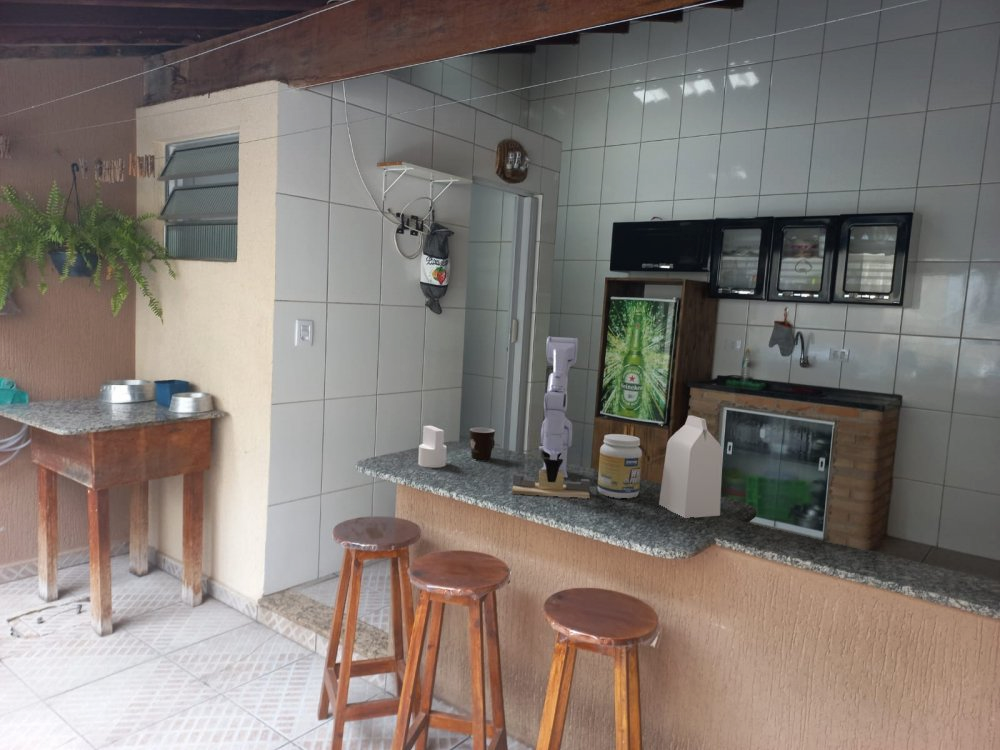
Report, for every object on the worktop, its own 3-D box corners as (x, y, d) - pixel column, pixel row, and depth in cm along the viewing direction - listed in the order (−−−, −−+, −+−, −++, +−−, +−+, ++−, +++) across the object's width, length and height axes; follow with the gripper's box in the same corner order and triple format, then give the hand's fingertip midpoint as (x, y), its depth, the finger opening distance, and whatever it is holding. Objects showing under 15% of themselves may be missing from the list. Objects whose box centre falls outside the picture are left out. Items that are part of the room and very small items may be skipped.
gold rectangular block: (538, 485, 205) (539, 469, 204) (562, 486, 205) (563, 470, 204) (538, 489, 201) (539, 472, 200) (562, 490, 201) (563, 473, 200)
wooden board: (513, 484, 208) (513, 481, 208) (586, 488, 208) (586, 485, 207) (512, 494, 198) (512, 490, 198) (589, 498, 198) (589, 495, 198)
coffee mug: (467, 455, 243) (469, 427, 242) (492, 455, 244) (493, 427, 243) (469, 463, 231) (471, 434, 230) (495, 464, 232) (497, 434, 231)
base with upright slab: (450, 465, 227) (452, 429, 225) (426, 468, 222) (428, 431, 220) (437, 459, 234) (438, 424, 233) (413, 462, 229) (414, 426, 228)
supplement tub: (629, 502, 196) (633, 443, 194) (590, 494, 202) (594, 437, 200) (645, 493, 206) (649, 437, 204) (607, 485, 213) (610, 431, 211)
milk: (658, 504, 195) (666, 413, 192) (693, 502, 199) (700, 413, 196) (684, 518, 184) (692, 422, 181) (719, 515, 188) (728, 421, 185)
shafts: (512, 482, 206) (513, 473, 206) (587, 487, 206) (588, 477, 205) (512, 487, 202) (513, 476, 202) (589, 491, 201) (589, 481, 201)
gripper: (539, 427, 208) (536, 471, 210) (540, 436, 194) (537, 484, 195) (563, 428, 208) (560, 472, 210) (565, 438, 194) (562, 485, 195)
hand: (551, 478), depth 203 cm, fingers open, 7 cm apart
